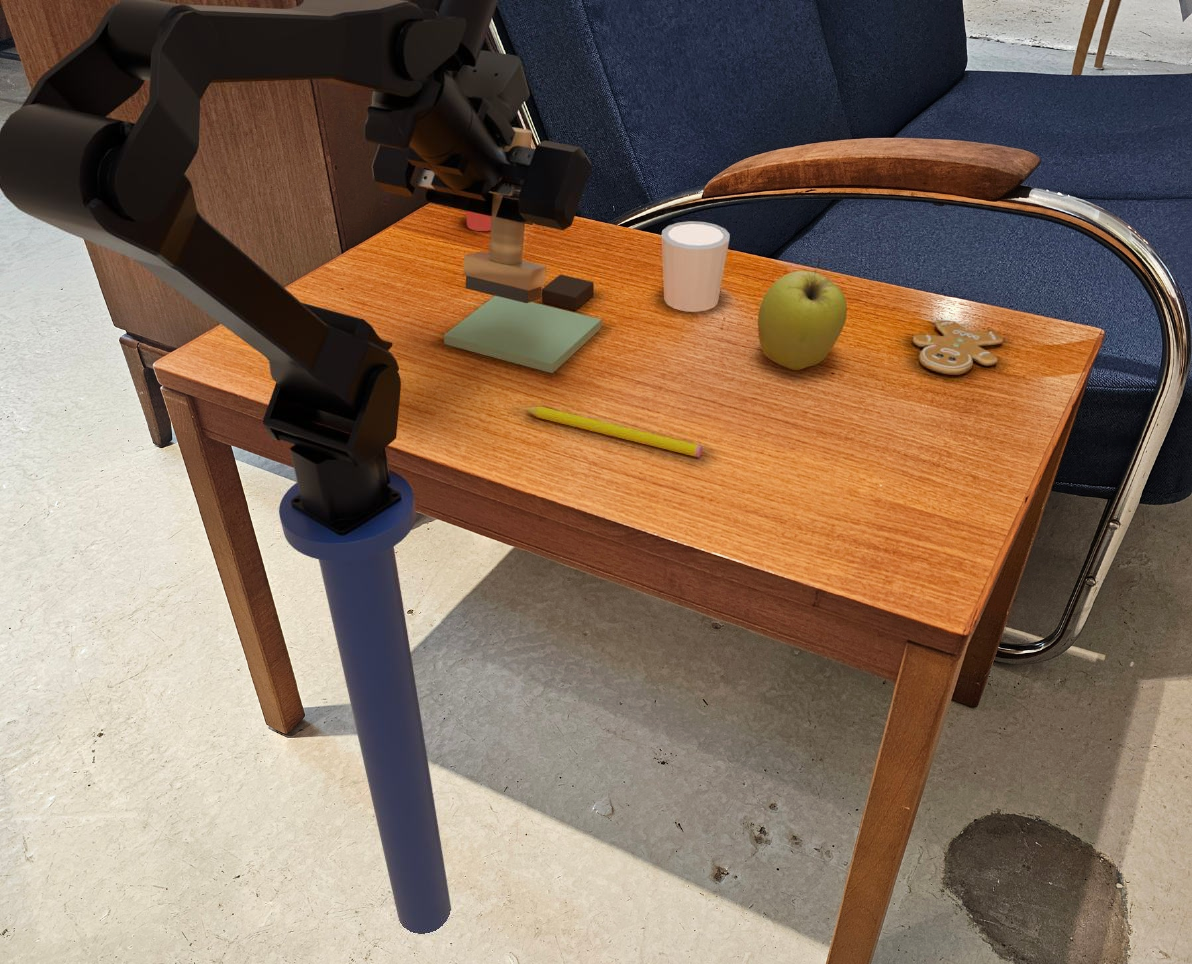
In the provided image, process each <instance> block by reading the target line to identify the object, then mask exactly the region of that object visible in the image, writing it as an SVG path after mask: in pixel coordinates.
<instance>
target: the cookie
mask: <svg viewBox="0 0 1192 964" xmlns="http://www.w3.org/2000/svg"><path fill="white" fill-rule="evenodd" d="M934 326H935V328H936V330H937V331H938V332H940V333H941V335H934V334H933V335H932V334H916V335H914V336H913V337H912V343H913V344H914V345H915V346H916V347H919V348H922V350H921V351H920V352H919V354H918V362H919V363H920V365H921V366H923V367H924V368H925V369H927V370H930V371H932V372H936V373H939V374H944V375H947V376H948V375H949V376H950V375H951V376H958V375H963V374H965V373H967V372H969V371H970V370H971V369H972V368H973V365H974V362H976V363H977V364H979V365H982V366H985V367H986V366H988V367H989V366H994V365H997V363H998V361H999V359H998V357H997V356H996V354H994V353H992V352H991V351H989V350H987V349H985V348H983V347H987V346H988V347H989V346H996V345H1001V344H1002V343H1004V341H1005V340H1004V338H1003V337H1002V336H1001V335H1000V334H998V333H996V332H994V331H986V330H975V331H974V330H973V331H972V330H967V329H966V328H965V327H963V326H962V325H960V324H959V323H957V322H955V321H953V320H945V319H944V320H937V321H936V322H935V323H934Z"/></svg>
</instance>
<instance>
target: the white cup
mask: <svg viewBox="0 0 1192 964" xmlns="http://www.w3.org/2000/svg"><path fill="white" fill-rule="evenodd" d="M660 236H661V237H660V238H661V258H662V259H661V260H662V281H663V282H662V283H663V284H662V285H663V300H664V302H665V304H666V305H667V306H669V307H670V308H672V309H674V310H677V311H682V312H687V313H699V312H706V311H708V310H712V309H714V308H715V307H716V306H717V305H718V304H719V297H720V294H721V293H720V292H721V287H722V282H723V276H724V271H725V265H726V260H727V255H728V250H729V244H730V238H731V237H730V236H731V234H730V233H729V232H728V230H727V229H726V228H725V227H722V226H720V225H718V224H714V223H711V222H705V221H695V220H694V221H693V220H692V221H691V220H690V221H689V220H688V221H681V222H676V223H673V224H669V225H668V226H666V227H665V228H664V229H662V231H661V235H660Z"/></svg>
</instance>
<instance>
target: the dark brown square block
mask: <svg viewBox="0 0 1192 964" xmlns="http://www.w3.org/2000/svg"><path fill="white" fill-rule="evenodd" d="M594 283H595V282H594V281H589V280H586V279H582V278H577V277H573V276H569V275H565V274H559V275H557V276H556V277H555V278H554V279H553V280H551V281H550V282H549V283H548V284H545V286H543V287H542V290H541V303H543V304H547V305H550V306H555V307H558V308H561V309H562V308H563V309H567V310H570V311H573V312H575V311H577V310H578V309H579V308H581V307H582V306H583V305H584V304H586V302H588V301H589V300H590V299H592V298H593V297H594V293H595V292H594V289H595V288H594V287H595V286H594Z"/></svg>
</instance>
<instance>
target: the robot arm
mask: <svg viewBox="0 0 1192 964" xmlns="http://www.w3.org/2000/svg"><path fill="white" fill-rule="evenodd" d="M498 3H499V0H409V1H408V0H303V1H302V3H301V4H300V5H297V6H293V7H289V8H268V7H248V6H247V7H246V6H228V5H227V6H225V5H204V4H203V5H202V4H184V3H183V4H181V3H175V2H169V1H163V0H121V1H117V2H114V3H113V4H112V5H111V6H110V7H109V8H108V9H107V10H106V11H105V13H104V15H103V17H102V18H101V19H100V21H99V23H98V25H96V28H95V29H94V30H93V33H92V34H91V36H90V37H89V38H87V39H86V40H85V41H84V42H82V43H81V44H80V45H78V46H77V47H76V48H74V50H72V51H71V52H69V53H68V54H66V55H65V56H64V57H63V58H62V59H61V60H59V61H58V62H57V63H56V64H54V65H53V66H52V67H51V68H49V69H47V71H45V72H44V73H43V74H42V75H41V76H40V77H39V78H38V80H37V81H36V82H35V84H34V86H33V87H32V89H31V91H30V92H29V93H28V95H27V97H26V99H25V100H24V102H23V103H22V105H21V106H20V108H19V109H17V110H16V111H14V112H12V113H11V114H10V115H9V116H8V118H7V119H6V121H5V122H4V123H3V125H2V126H1V128H0V190H1V192H2V194H3V195H4V197H5V198H6V199H7V200H8V201H9V202H10V203H11V204H12V205H13V206H14V207H15V208H16V209H17V210H19V211H20V212H23V213H24V214H26V215H28V216H30V217H32V218H35V219H36V220H39V221H41V222H43V223H46V224H48V225H50V226H52V227H55V228H57V229H59V230H61V231H63V232H65V233H68V234H70V235H73V236H75V237H78V238H79V239H82V240H85V241H88V242H90V243H92V244H95V245H98V246H101V247H103V248H105V249H108V250H111V251H113V252H116V253H118V254H121V255H122V256H126V257H128V258H130V259H131V260H133V261H135V262H136V263H138V264H139V265H140V266H142V267H143V268H144V269H146V270H147V271H148V272H150V273H151V274H153V276H155V277H157V278H158V279H160V280H161V282H163V283H165V284H166V285H168V286H169V287H170V288H171V289H173V290H174V291H175V292H177V293H178V294H180V295H181V296H182V297H184V298H185V299H186V300H188V301H189V302H191V303H192V304H193V305H194V306H196V307H197V308H198V309H200V310H201V311H203V312H204V313H205V314H207V315H208V316H209V317H211V318H213V320H215V321H216V322H218V323H219V324H221V325H222V326H223V327H224V328H226V329H227V330H228V331H230V332H231V333H232V334H234V335H235V336H237V337H238V338H239V339H241V340H242V341H243V342H245V343H246V344H247V345H249V346H250V347H252V349H254V350H256V351H257V352H258V353H260V354H261V355H262V356H263V357H265V359H267V361H268V365H269V366H268V367H269V374H270V376H271V379H272V381H274V382H275V384H274V388H273V391H272V393H271V396H270V398H269V402H268V405H267V408H266V411H265V412H264V416H263V418H262V425H263V426H264V428H265V430H266V431H267V433H268V434H269V436H270V437H271V438H272V440H276V441H278V442H279V441H281V442H285V443H288V444H291V445H292V446H290V448H289V451H290V456H291V460H292V465H293V469H294V473H295V477H296V483H298V487H299V491H300V495H298V496H296V497H294V498H293V499H292V500H291V505H292V507H293V508H295V509H296V510H298V511H300V512H301V513H303V514H304V515H306V516H308V517H309V518H311V519H313V520H314V521H316V522H318V523H319V524H321V525H323V526H324V527H326V528H328V529H329V530H331V531H333V532H334V533H336V534H338V535H340V536H343V535H347V534H348V533H350V532H352V531H353V530H355V529H356V528H358V527H360V526H361V525H363V524H364V523H366V522H368V521H369V520H371V519H373V518H374V517H376V516H377V515H379V514H381V513H382V512H384V511H385V510H387V509H389V508H390V507H392V506H393V505H395V504H397V503H398V502H400V501H401V494H400V493H399V492H398V491H396V490H394V489H392V488H390V487H388V486H387V485H388V484H389V483H390V475H389V470H390V469H389V463H388V457H387V456H388V455H387V449H386V448H387V447H388V446H389V445H390V444H391V443H394V441H395V440H396V439H397V436H398V435H397V433H398V424H399V423H398V422H399V411H400V403H401V391H402V381H401V375H400V373H399V371H400V366H399V364H398V361H397V359H396V357H395V356H394V354H393V353H391V352H390V349H392V347H393V345H394V344H393V342H392V341H388V340H385V339H382V338H381V337H380V336H379V335H378V334H377V332H376V330H375V329H374V327H373V326H372V325H371V324H370V323H368V321H367V320H365V319H364V318H361V317H357V316H354V315H351V314H346V313H343V312H339V311H335V310H331V309H327V308H325V307H320V306H316V305H312V304H309V303H305V302H302V301H300V300H299V299H298V298H297V297H296V296H295V295H293V294H292V293H291V292H290V291H289V290H288V289H287V288H285V287H284V286H283V285H282V284H280V283H279V282H278V281H277V280H276V279H275V278H274V277H272V275H270V274H269V273H268V272H266V270H265V269H264V268H262V267H261V266H260V265H259V264H258V263H256V262H255V261H254V260H253V259H252V258H250V256H248V255H247V254H246V253H245V252H244V251H242V250H241V249H240V248H239V247H238V246H237V245H236V244H234V243H233V242H232V241H231V240H230V239H228V237H226V236H225V235H224V233H222V232H221V231H219V229H217V228H216V227H215V226H214V225H213V224H212V223H210V222H209V221H208V220H207V219H206V218H205V217H204V216H203V215H201V213H200V212H199V211H198V208H197V203H196V198H195V194H194V188H193V185H192V181H191V180H190V178H189V177H188V175H187V174H186V172H187V170H188V169H189V167H190V165H191V164H192V162H193V160H194V159H195V157H196V155H197V154H198V151H199V147H200V128H201V127H200V124H201V123H200V122H201V100H202V98H203V96H204V95H205V93H206V91H207V89H208V88H209V86H210V85H211V84H219V83H220V84H221V83H222V84H223V83H249V82H250V83H251V82H253V83H254V82H276V81H277V82H279V81H280V82H281V81H282V82H283V81H307V80H309V81H310V80H317V81H319V82H320V81H321V82H325V83H327V84H333V85H336V86H342V87H349V88H353V89H358V90H364V91H370V92H372V94H371V104H370V105H368V106H367V108H366V114H367V118H366V121H365V124H364V127H363V128H364V129H363V130H364V140H365V142H366V143H368V144H374V145H378V147H377V149H376V152H375V155H374V158H373V160H372V163H371V171H372V178H373V181H374V182H375V184H377V186H379V187H380V188H381V190H382V191H384V192H385V193H390V194H394V195H398V196H403V197H407V198H411V197H412V196H413V195H414V193H415V191H416V187H415V186H414V185H413V184H412V183H411V181H412V178H413V175H414V173H415V169H416V167H419V168H422V169H421V170H420V171H419V174H418V176H417V179H416V184H417V185H418V186H419V187H421V188H425V189H426V192H425V200H426V201H427V203H430V204H433V205H437V206H442V207H447V208H452V209H455V210H459V211H465V212H466V211H469V212H474V213H478V214H482V215H487V216H492V200H493V194H497V195H502V196H503V198H502V200H501V203H500V206H499V209H498V212H497V214H496V217H497V218H501V219H505V220H510V221H514V222H519V223H524V224H525V225H528V226H533V225H536V226H541V227H545V228H549V229H550V228H551V229H554V230H559V231H565V230H567V229H568V228H570V227H571V226H572V225H573V223H574V220H575V217H576V214H577V211H578V209H579V206H580V203H581V200H582V197H583V195H584V191H585V189H586V186H587V183H588V181H589V177H590V175H591V172H592V169H593V164H592V163H591V161H590V159H589V157H588V156H587V155H586V153H585V150H583V148H582V147H581V146H576V145H571V144H565V143H561V142H556V141H550V140H542V141H541V142H539V143H538V144H536V146H535V148H533V147H531V148H528V147H523V146H514V147H512V148H511V149H510V150H509V151H508V152H505V151H504V149H505V146H511V144H512V141H513V139H514V136H515V133H516V132H515V131H514V129H513V128H512V127H513V126H512V124H511V123H512V122H513V120H514V118H515V117H516V115H517V114H518V112H519V111H520V109H521V108H522V106H523V105H524V103H525V102H527V101H528V100H529V98H530V97H531V96H530V95H531V93H530V89H529V85H528V83H527V78H526V74H525V71H524V67H523V64H522V60H521V58H520V57H519V56H517V55H515V54H508V53H501V52H496V51H490V50H484V49H483V50H482V48H483V45H484V43H485V39H486V37H487V34H488V31H489V28H490V25H491V24H492V20H493V17H494V14H495V11H496V8H497V6H498ZM145 81H146V82H147V81H148V82H149V92H148V93H149V94H148V101H147V103H146V105H145V107H144V108H143V110H142V111H141V113H140V115H139V117H138V118H137V119H136V122H131V121H126V120H123V119H122V120H121V119H117V118H112V117H107V116H109V115H110V114H111V113H113V112H114V111H115V110H116V109H117V108H119V107H120V106H121V105H123V104H124V103H125V102H127V101H128V100H130V99H131V98H132V97H133V96H134V95H135V94H137V93H138V91H139V90H141V88H142V87H143V85H144V83H145ZM508 163H510V164H508Z"/></svg>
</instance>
